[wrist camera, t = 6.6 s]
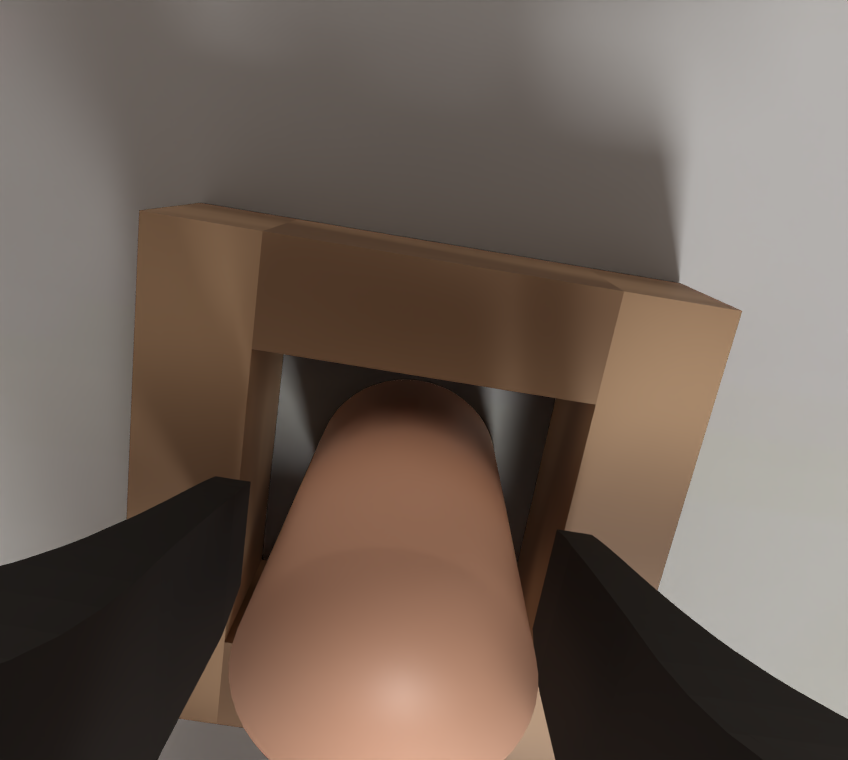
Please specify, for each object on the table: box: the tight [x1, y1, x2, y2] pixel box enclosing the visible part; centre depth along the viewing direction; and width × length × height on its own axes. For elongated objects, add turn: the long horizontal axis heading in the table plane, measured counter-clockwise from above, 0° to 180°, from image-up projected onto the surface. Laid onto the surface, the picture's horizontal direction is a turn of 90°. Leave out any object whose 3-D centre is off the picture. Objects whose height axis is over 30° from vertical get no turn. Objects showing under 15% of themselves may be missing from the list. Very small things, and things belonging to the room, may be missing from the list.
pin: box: [229, 379, 538, 760], centre depth 12 cm, size 4×4×7 cm
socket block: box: [127, 203, 742, 760], centre depth 14 cm, size 10×10×3 cm
